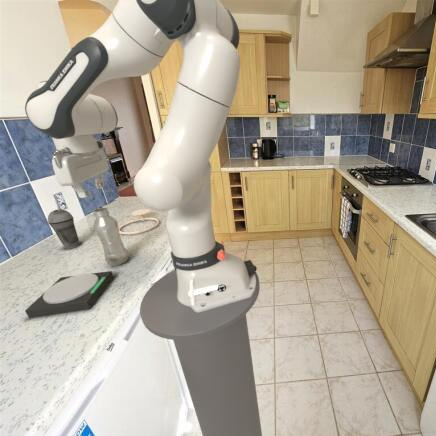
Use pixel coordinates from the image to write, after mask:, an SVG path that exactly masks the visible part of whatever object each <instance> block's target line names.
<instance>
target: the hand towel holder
mask: <svg viewBox="0 0 436 436" xmlns="http://www.w3.org/2000/svg"><path fill="white" fill-rule="evenodd" d="M150 212H151V210H150V209H149V208H142V209H137V210H135V211H133V212H131V213H130V215H131V216H133V217H140V218H135V219H132V220H129V221H126V222H124V223H122V224H121V225H118V226H119V233H120V235H125V236H128V235H129V236H132V235H139V234H142V233H146V232H149V231H152V230H153V229H155V228H157V226H159V224H160V220H159V219H158V218H156V217H151V216H150V217H149V216H148V217H145V215H147V214H149V213H150ZM151 220H152V221H156V223H155V224H154V225H152V226H150V227H147V228H145V229H141V230H136V231H121V229H122V228H124V227H125V226H128V225H130V224H133V223H136V222H144V221H151Z"/></svg>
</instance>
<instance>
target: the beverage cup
mask: <svg viewBox="0 0 436 436" xmlns="http://www.w3.org/2000/svg"><path fill="white" fill-rule="evenodd" d="M54 199H55V204H56V207H57V209H54V210H53V211H51V212H50V213H49V214H48V216H47V223H48V225H49V226H50V227H51V228H52V230H53V231H54V233H55V234H56V236H57V238H58V239H59V241H60V243H61V244H62V246H63V247H64V248H65V250H72V249H75V248H78V247H79V246H80V245H81V243H80V239H79V236H78V232H77V228H76V225H75V221H74V216H73V215H72V213H71V212H69V211H68V210H65V209H61V208H60V205H59V201H58V198H57V197H55V198H54Z"/></svg>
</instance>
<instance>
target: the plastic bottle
mask: <svg viewBox="0 0 436 436" xmlns="http://www.w3.org/2000/svg"><path fill="white" fill-rule="evenodd" d="M92 212H93V216H94V217H95V219H94V222H93V230H94V231H95V233H96V235H97V236H98V238H99V241H100V242H101V245H102V249H103V252H104V260H105V262H106V264H107V265H109V266H112V267H113V266H120V265H122V264H125V263H126V262H127V261H128V260H129V251H128V250H127V248H126V247H125V244H124V242H123V240H122V238H121V234H120V233H119V226H120V225H119V222H118V220H117V219H116V218H114V217H113V216H111V215H110V212H109V210H108V208H107V207H99V208H96V209H93V210H92Z"/></svg>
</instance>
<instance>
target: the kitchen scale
mask: <svg viewBox="0 0 436 436" xmlns="http://www.w3.org/2000/svg"><path fill="white" fill-rule="evenodd" d="M114 278H115V276H114V274H113V271H112V270H108V271H107V270H106V271H101V272H100V271H99V272H93V273H92V272H91V273H81V274H76V275H70V276H61V277H60V278H58V279H57V280H55V282H54V283H53V284H52V285H51V286H50V287H49V288H47V290H45V291H44V292H43V293H42V294H41V295H40V296H39V297H38V298H37V299H36V300H35V301H34V302H32V303H31V304H30V305H29V306H28V307H27V308H26V309H25V310H24V312H25V314H26V316H27V317H28V318H29V319H33V318H40V317H47V316H52V315H60V314H66V313H73V312H78V311H79V312H80V311H84V310H85V311H87V310H91V309H92V307H93V306H94V305H95V304H96V302H97V301H98V299H99V298H100V297H101V296H102V294H103V293H104V291H105V290H106V289H107V287H108V286H109V285H110V284H111V282H112V281H113V279H114Z"/></svg>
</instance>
